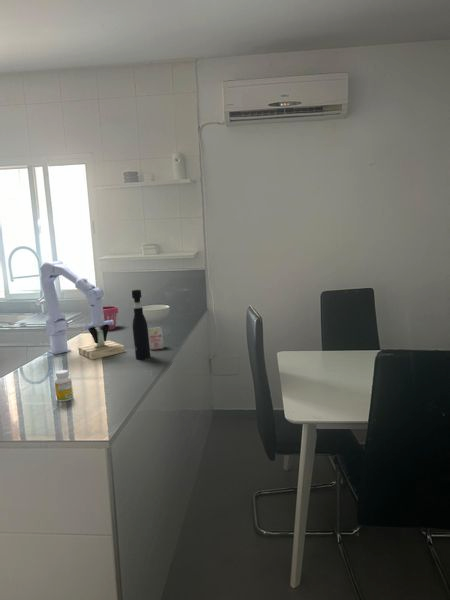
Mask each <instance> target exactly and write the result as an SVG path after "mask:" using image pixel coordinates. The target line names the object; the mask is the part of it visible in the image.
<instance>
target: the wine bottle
mask: <svg viewBox="0 0 450 600" xmlns="http://www.w3.org/2000/svg"><path fill="white" fill-rule="evenodd" d="M131 298H132V299H133V300H134V303H133V313H134V314H133V319H132V334H133V345H134V353H135V359H136V360H138V361H139V360H140V361H141V360H148V359H150V358H151V357H152V356H151V350H150V346H149V337H148V328H149V326H148V323H147V320H146V317H145V315H144V312H143V311H144V309H143V304H142V303H141V298H142V291H141V289H134V290H131Z"/></svg>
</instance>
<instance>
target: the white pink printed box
mask: <svg viewBox="0 0 450 600" xmlns="http://www.w3.org/2000/svg"><path fill="white" fill-rule="evenodd" d="M148 337H149V346H150V351H152V350H153V351H155V350H161V349H164V348H165V347H164V339H163V337H164V336H163V329H162V326H158V327H150V328H149V327H148Z"/></svg>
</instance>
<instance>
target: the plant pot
mask: <svg viewBox="0 0 450 600" xmlns="http://www.w3.org/2000/svg"><path fill="white" fill-rule="evenodd" d="M103 314H104V321H108V320H114V324H113V325H108V326H109V330H108V331H112V330H114V329H116V324H117V316H118V315H117V314H119V307H118V306H117V305H107V306H103ZM98 330H101V327H98Z"/></svg>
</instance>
